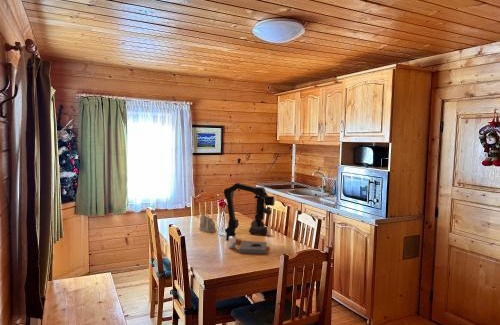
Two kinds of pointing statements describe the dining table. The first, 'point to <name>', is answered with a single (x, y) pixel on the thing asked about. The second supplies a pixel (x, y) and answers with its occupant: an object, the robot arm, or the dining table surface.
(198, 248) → the dining table surface
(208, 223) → the ceramic cottage
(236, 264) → the dining table surface
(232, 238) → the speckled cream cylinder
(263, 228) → the dark knit hat
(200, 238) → the dining table surface
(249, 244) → the duct plate
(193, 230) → the dining table surface
